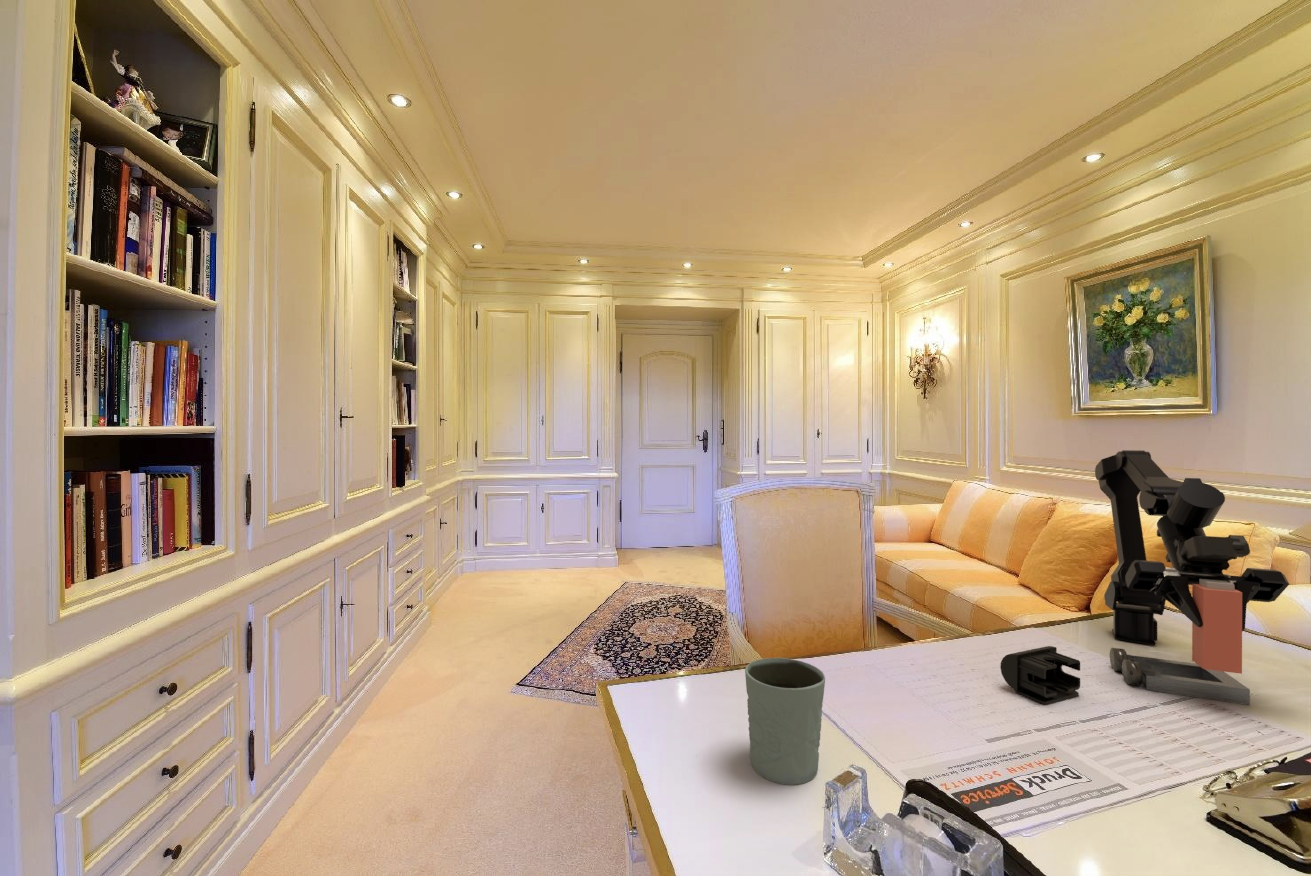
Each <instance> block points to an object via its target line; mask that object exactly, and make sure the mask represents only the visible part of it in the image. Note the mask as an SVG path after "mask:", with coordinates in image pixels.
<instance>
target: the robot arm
mask: <svg viewBox="0 0 1311 876" xmlns="http://www.w3.org/2000/svg"><path fill="white" fill-rule="evenodd" d="M1094 475H1095V476H1094V477H1095V479H1096V480H1097V481H1098V485H1099V489H1100V490H1101V492H1102V493H1103V494H1104V495H1105V496H1106V497H1107V498H1108V499H1109V500H1110V507H1111V513H1112V519H1113V520H1112V522H1113V529H1114V536H1115V544H1116V552H1117V561H1118V564H1117V566H1116V567H1115V569H1114V571H1113V572H1112V574H1111V575H1110V579H1111V581H1110V582H1109V584H1108V586H1107V588H1106V590H1105V593H1104V595H1103V598H1104V604H1105V606H1107V607H1108V609H1111V610H1112V612H1113V615H1112V616H1113V617H1112V618H1113V620H1112V621H1113V622H1112V623H1113V625H1112V627H1113V628H1112V629H1111V632H1112V635H1113V637H1114V639H1115V640H1117V641H1126V642H1131V643H1135V644H1137V643H1138V644H1142V645H1143V644H1144V645H1148V646H1149V645H1150V646H1156V642H1157V641H1158V621H1157V619H1156V618H1155V617H1154V615H1158V616H1163V615H1164V612H1165V607H1166V601H1167V602H1168V603H1170V604H1171V605H1173V606H1174V607H1175V608H1176V609H1178V611H1180V612H1181V614H1183V615H1184V616H1185V617H1186V618H1188V620H1189V621H1190V622H1191V623H1192V622H1193V623H1194V624H1195V625H1196V626H1197V627H1202V625H1203V622H1202V618H1201V615H1200V613H1199V610H1198V608H1197V606H1196V604H1195V602H1194V600H1193V597H1192V593H1191V591H1190V586H1192V584H1199V579H1209V580H1221V581H1227V582H1230V583H1232V584H1234V585H1235V589H1236V590H1238V591H1240V592H1242V632H1243V631H1245V629H1246V618H1247V617H1246V616H1247V604H1248V603H1249V602H1250V601H1251V602H1261V603H1262V602H1263V603H1270V602H1271V603H1272V602H1275V601H1276V600H1277V598H1279V597H1280V595H1282V593H1284V591H1285V590H1286V589H1287V588H1288V586H1289V585H1290V582H1289V580H1288V578H1287V577H1286V575H1285V574H1284V573H1283V572H1282V571H1280V570H1277V569H1269V568H1257V567H1256V568H1255V567H1247V568H1246V569H1245V570H1244V571H1243V573H1242V574H1241V575H1230V574H1225V573H1224V572H1223V571H1227V570H1228V569H1230V566H1231V565H1230V563H1229V561H1231V560H1236V559H1238V558H1244V557H1246V556H1248V555H1250V554H1251V548H1250V546H1249V542H1248V541H1247V539H1246V537H1245V536H1244V535H1239V534H1229V535H1228V536H1211V535H1210V536H1209V535H1208V536H1207V535H1206V533H1205V530H1204V528H1208V527H1210V526H1211V525H1212V523H1213V521H1214V519H1215V518H1216V517H1217V514H1218V513H1219V512H1220V510H1221V509H1222V507H1223V505H1224V503H1225V501H1226V496H1225V494H1224V492H1222V491H1220V490H1219V489H1218V488H1216V487H1215V486H1212V485H1211V484H1208V483H1205V482H1203V481H1202V479H1201V478H1199V477H1197V478H1196V477H1185V478H1184V480H1183V481H1180V480H1177V479H1173V478H1170V477H1169V476H1168V475H1167V474H1166V473H1165V472H1164V471H1163V470H1162V468H1161V467H1159V465H1158V464H1157V463H1156V462H1155V461H1154V460H1153V459H1152V455H1151V453H1150V452H1149V451H1146V450H1144V449H1143V450H1135V449H1133V450H1129V449H1128V450H1125V449H1124V450H1121V451H1119V450H1118V451H1117V453H1115V454H1114V455H1110V456H1108V457H1105V458H1102V459H1100V460H1099V462H1098V463H1097V464H1096V465H1095V469H1094ZM1138 496H1139V497H1138ZM1138 499H1139V501H1138ZM1140 508H1141V509H1142V510H1143V512H1145V514H1146V515H1148V516H1155V517H1157V516H1158V517H1160V518H1158V520H1157V522H1156V527H1157V530H1156V536H1157V537H1158V538H1161V540H1162V542H1163V545H1164V548H1165V550H1166V555H1165V556H1164V557H1165V560H1166V562H1167V563H1171V564H1170V565H1171V566H1172V567H1166V566H1165V563H1163V562H1162V561H1158V560H1157V561H1156V560H1147V555H1146V547H1145V542H1144V541H1145V540H1144V534H1143V528H1142V526H1143V525H1142V520H1141V514H1140Z"/></svg>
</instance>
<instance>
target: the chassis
mask: <svg viewBox="0 0 1311 876" xmlns="http://www.w3.org/2000/svg"><path fill="white" fill-rule="evenodd" d="M1109 663H1110V666H1111V668H1112V670H1113V669H1114V670H1115V672H1122V677H1123V678H1122V679H1123V680H1124V683H1126V685H1133V686H1141V687H1142V688H1143V689H1145V690H1146V691H1150V692H1156V691H1158V693H1163V692H1164V694H1170V693H1171V694H1172V695H1179V696H1184V697H1185V696H1186V697H1190V698H1192V697H1193V698H1199V699H1207V700H1213V701H1218V702H1226V703H1232V704H1241V705H1246V706H1250V705H1251V689H1250V688H1248V687H1247V686H1245V685H1244V684H1243V683H1241V682H1240V681H1238V680H1237V679H1235V678H1234V677H1232V676H1231V675H1230V674H1228V672H1224V671H1216V670H1208V669H1203V668H1202V667H1200V666H1199V665H1198V664H1196V663H1195V662H1194V663H1193V662H1187V661H1179V660H1170V659H1163V658H1157V657H1156V658H1155V657H1147V656H1138V655H1131V654H1128V653H1127V651H1126V650H1125V649H1124V648H1118V647H1111V648H1110V650H1109ZM1114 670H1113V671H1114Z"/></svg>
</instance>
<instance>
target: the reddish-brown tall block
mask: <svg viewBox="0 0 1311 876" xmlns="http://www.w3.org/2000/svg"><path fill="white" fill-rule="evenodd" d="M1191 586H1192V591H1191V592H1192V593H1191V595H1192V597H1193V600H1194V602H1195V604H1196V606H1197V608H1198V610H1199V613H1200V615H1201V618H1202V622H1203V625H1202V627H1197V626H1196V625H1195V624H1194V623H1193V622H1192V621H1191V623H1192V624H1191V625H1192V626H1191V633H1192V634H1191V641H1192V642H1191V661H1192V662H1194V663H1196V664H1198V665H1199V666H1200V667H1202V668H1203V669H1208V670H1216V671H1224V672H1225V673H1233V674H1241V675H1242V674H1243V631H1242V592H1240V591H1238V590H1236V589H1235V585H1234V584H1232V583H1230V582H1227V581H1221V580H1209V579H1199V584H1192V585H1191Z"/></svg>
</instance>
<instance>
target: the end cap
mask: <svg viewBox="0 0 1311 876" xmlns="http://www.w3.org/2000/svg"><path fill="white" fill-rule="evenodd" d="M999 666H1000V672H1001V676H1002V678H1003V679H1004V681H1005V683H1006V684H1007V686H1009V687H1010V688H1011V689H1012V690H1013V691H1014V692H1015V693H1016V694H1017V695H1019V696H1021V697H1023V698H1025V699H1028V700H1030V701H1032V702H1034V703H1037V704H1039V705H1042V706H1048V705H1052V704H1056V703H1059V702H1063V701H1067V700H1066V699H1068V700H1070V699H1074V698H1078V697H1080V695H1079V691H1078V690H1079V689H1080V687H1081V677H1079V676H1075V675H1072V674H1070V673H1067V672H1065V671H1064V670H1063V668H1062V667H1063V666H1065V667H1067V668H1070V669H1073V670H1075V671H1078V672H1079V671H1081V661H1080V660H1079V659H1076V658H1073V657H1071V656H1067V655H1064V654H1062V653H1058V652H1057V647H1056V646H1053V645H1051V646H1050V645H1046V646H1043V647H1037V648H1033V649H1032V648H1031V649H1026V650H1022V651H1018V652H1013V653H1009V654H1006V655H1004V657H1002V659H1001V662H1000V665H999Z"/></svg>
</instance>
